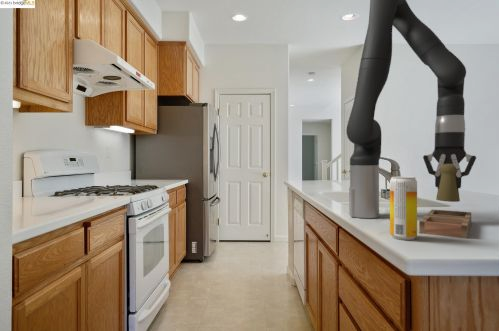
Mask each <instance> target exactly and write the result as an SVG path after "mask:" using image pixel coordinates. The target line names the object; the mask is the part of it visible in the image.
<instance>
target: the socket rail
mask: <svg viewBox="0 0 499 331" xmlns="http://www.w3.org/2000/svg"><path fill="white" fill-rule="evenodd" d="M418 223H419V224H418V226H419V231H418V232H419V234H424V235H425V234H427V235H434V236H442V237H452V238H461V239H468V237H469V236H468V235H469V232H470V229H471V226H472V212H470V211H460V210H445V209H444V210H443V209H431V210H430V211H429V212H428V213H426V215H424V217H422V218H421V219H420V220H419V222H418Z"/></svg>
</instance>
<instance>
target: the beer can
mask: <svg viewBox="0 0 499 331" xmlns="http://www.w3.org/2000/svg"><path fill="white" fill-rule="evenodd" d="M389 235H391V236H392V238H393V239H395V240H399V241H400V240H401V241H413V240H416V238H417V236H418V181H417V179H416V177H415V176H404V175H403V176H398V175H397V176H391V178H390V180H389Z"/></svg>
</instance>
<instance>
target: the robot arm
mask: <svg viewBox="0 0 499 331" xmlns="http://www.w3.org/2000/svg"><path fill="white" fill-rule="evenodd" d="M369 2H370V3H369V13H368V15H369V16H368V23H367V24H368V25H367V29H366V30H367V31H366V34H365V39H364V43H363V48H362V52H361V58H360V63H359V68H358V73H357V74H358V76H357V81H356V88H355V94H354V98H353V100H354V101H353V104H352V107H351V111H350V115H349V118H348V121H347V125H346V130H345V131H346V137H347V139H348V140H349V142H351V143H352V144H353V153H352V154H351V156H350V157H349V188H348V192H349V199H348V200H349V205H348V206H349V208H348V210H349V211H348V212H349V215H350V217H351V218H358V219H376V218H379V217H380V159H381V155H382V127H381V124H380V123H379V122H378V121H377V120H376V119H375V115H376V108H377V107H376V106H377V102H378V99H379V97H380V95H381V93H382V91H383V90H384V87H385V85H386V83H387V80H388V78H389V73H390V68H391V64H392V57H393V27H394V28H395V29H396V31H398V32H399V34H400V35H401V36H402V37H403V39H404V40H405V42H406V43H407V44H408V46H409V47H410V49H411V50H412V51H413V52H414V54H415V55H416V56H417V58H419V60H420V61H421V62H422V63H423V64H424V65H425V66H428V68H429V69H430V70H431V71H432V73H433V74H434V75H435V77H436V78H437V102H436V116H435V117H436V118H435V123H434V124H435V125H434V149H433V151H432V153H430V154H425V155H423V156H422V158H423V161H424V164H425V166H426V170H427V173H428V174H429V175H432V176H434V177H435V178H434V180H435V182H434V183H435V184H434V186H435V188H437V190H438V189H439V185H440V178H441V177H440V175H441V174H440V171H439V169H440V168H441V166H442V165H443V164H453V165H454V166H455V167H456V169H457V170H458V171H457V173H456V185H457V190H459V189H461V187H462V178H463V177H466V176H469V175H470V172H471V170H472V168H473V166H474V163H475V162H476V159H477V156H476V155H471V154H468V153H467V152H466V150H465V142H466V141H465V136H466V134H465V133H466V120H465V97H464V91H465V90H464V88H465V78H466V75H467V68H466V65H464V63H463V62H462V61H461V60H460V59H459V57H458V56H456V55H455V54H454V53H453V52H452V51H451V50H450V49H448V48H447V47H446V45H445V43H443V41H442V40H441V39H440V38H439V37H438V36H437V34H436V33H435V32H434V31H433V30H432V29H431V28H430V27H428V26H427V25H426V23H424V22H423V21H422V20H420V18H418V17H417V16H416V14H415V13H414V12H413V10H412V9H411V7H410V5H409V3H408V1H407V0H370V1H369ZM433 158H434V159H435V161H436V162H437V163H438V164H437V167H436V170H434V167H433V165H432V161H433ZM464 158H466V162H467V165H466V168H465V169H464V171H461V166H460V163H461V162H462V161H463V160H464Z"/></svg>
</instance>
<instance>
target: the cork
mask: <svg viewBox="0 0 499 331" xmlns="http://www.w3.org/2000/svg"><path fill="white" fill-rule="evenodd" d="M439 171H440V174H441V175H440V177H441V178H440V185H439V189H438V188H437V193H436V198H435V199H436V200H437V201H439V202H441V201H442V202H451V203H459V202H461V200H460V192H459V190H460V189H458V190H457V185H456V173H457V171H458V170H457V169H456V167H455V166H454V165H453V164H443V165H442V166H441V168H440V169H439Z"/></svg>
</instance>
